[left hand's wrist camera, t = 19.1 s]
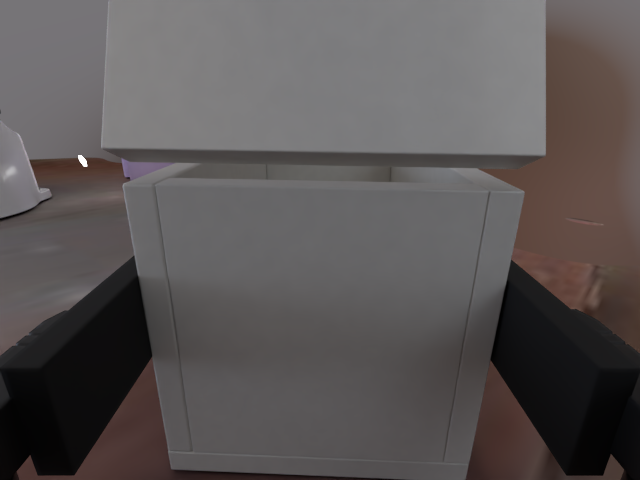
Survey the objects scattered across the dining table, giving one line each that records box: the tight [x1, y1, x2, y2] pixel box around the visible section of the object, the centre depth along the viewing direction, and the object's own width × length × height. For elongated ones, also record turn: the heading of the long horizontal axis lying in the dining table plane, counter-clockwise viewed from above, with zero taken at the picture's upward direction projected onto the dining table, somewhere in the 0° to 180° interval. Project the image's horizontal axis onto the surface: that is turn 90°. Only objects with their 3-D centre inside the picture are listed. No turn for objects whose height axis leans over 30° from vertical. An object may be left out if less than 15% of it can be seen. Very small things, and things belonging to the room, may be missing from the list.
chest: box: [123, 163, 525, 480], centre depth 19 cm, size 17×10×10 cm, turn 178°
